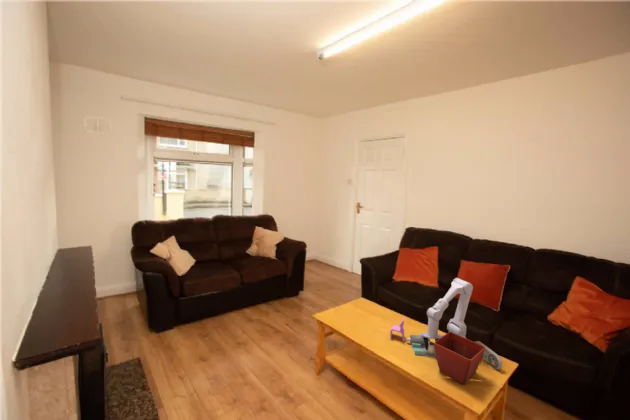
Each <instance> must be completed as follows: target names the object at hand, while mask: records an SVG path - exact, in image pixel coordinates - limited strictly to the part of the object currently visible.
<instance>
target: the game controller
mask: <svg viewBox="0 0 630 420" xmlns="http://www.w3.org/2000/svg"><path fill="white" fill-rule="evenodd" d="M474 342H475V343H477V344H480V345H482V346H484V347H485V350H484V354H483V356H482V359H484V360H485V362H487V363H488V364H489V366H491V368H492V369H494V370H500V369H502V367H503V361H502V359H501V357H500V356H499V355H498V354H497V353H496V352H495V351H493V350H492V349H491V348H490V347H488V346H487V345H485V344H484V343H482V342H481V341H479V340H477V341H474Z"/></svg>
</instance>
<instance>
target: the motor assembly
mask: <svg viewBox="0 0 630 420" xmlns="http://www.w3.org/2000/svg"><path fill="white" fill-rule="evenodd" d="M406 341H409V343H410V345H411V348H412V351H413V353H414V355H415V356H420V357H421V356H422V357H435V358H436V353H435V354H429V353H428V352H427V350H426V348H425V343H424V339H423V338H420V337H419V335H418V334H410V335H409V337H406ZM428 341H429V342H431V338H428Z"/></svg>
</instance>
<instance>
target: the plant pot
mask: <svg viewBox="0 0 630 420" xmlns="http://www.w3.org/2000/svg"><path fill="white" fill-rule="evenodd" d="M443 335H444V336H443V337H441V338H440V339H438V340H437V341H435V340H434V342H433V343H434V344H435V353H436V357H435V358H436V362H437V366H438V370H439V371H440V373H443V374H444V375H446V376H447V377H449V378H450V379H452V380H453V381H455V382H457V383H459V384H461V385H465V384H466V383H467V382H469V381H470V379H471V378H472V377H473V376H475V374H476V372H477V370H478V367H479V366H480V363H481V362H482V359H483V358H482V356H483V354H484V350H485V347H484V346H482V345H480V344H477V343H475V342H476V341H472V340H470V339H468V338H467V337H466V338H464V337H461V336H459V335H457V334H454V333H452V332H449V331H448V332H447V333H445V334H443Z"/></svg>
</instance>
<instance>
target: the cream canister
mask: <svg viewBox="0 0 630 420" xmlns="http://www.w3.org/2000/svg"><path fill="white" fill-rule="evenodd" d="M427 352H428V353H429V354H435V344H434V342H433V341H430V342H428V350H427Z"/></svg>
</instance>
